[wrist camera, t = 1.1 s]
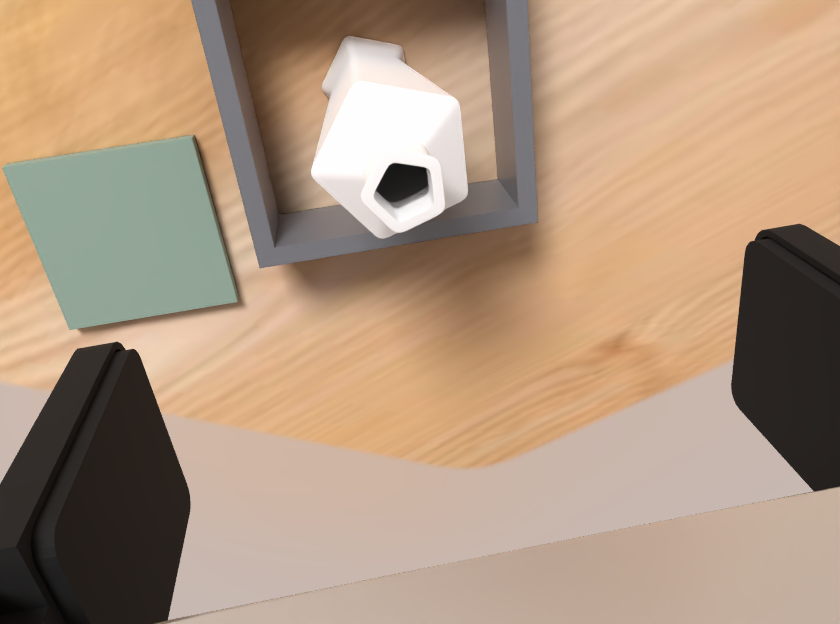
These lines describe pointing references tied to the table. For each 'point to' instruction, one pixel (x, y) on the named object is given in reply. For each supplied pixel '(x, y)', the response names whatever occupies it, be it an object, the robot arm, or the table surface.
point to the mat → (125, 231)
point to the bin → (335, 225)
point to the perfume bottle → (388, 140)
